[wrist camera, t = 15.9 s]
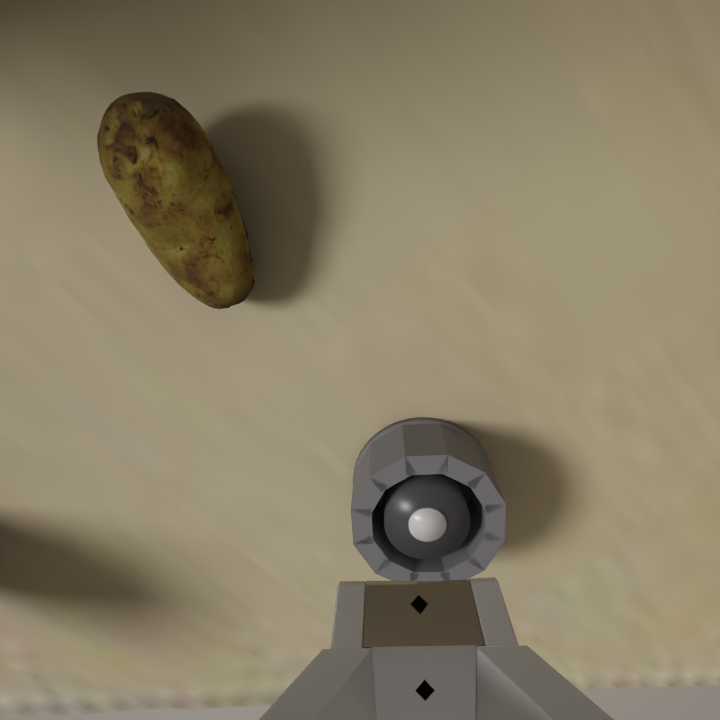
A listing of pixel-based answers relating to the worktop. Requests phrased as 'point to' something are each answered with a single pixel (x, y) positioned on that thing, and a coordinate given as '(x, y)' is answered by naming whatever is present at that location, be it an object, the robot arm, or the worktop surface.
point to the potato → (177, 196)
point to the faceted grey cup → (423, 457)
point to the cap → (426, 516)
